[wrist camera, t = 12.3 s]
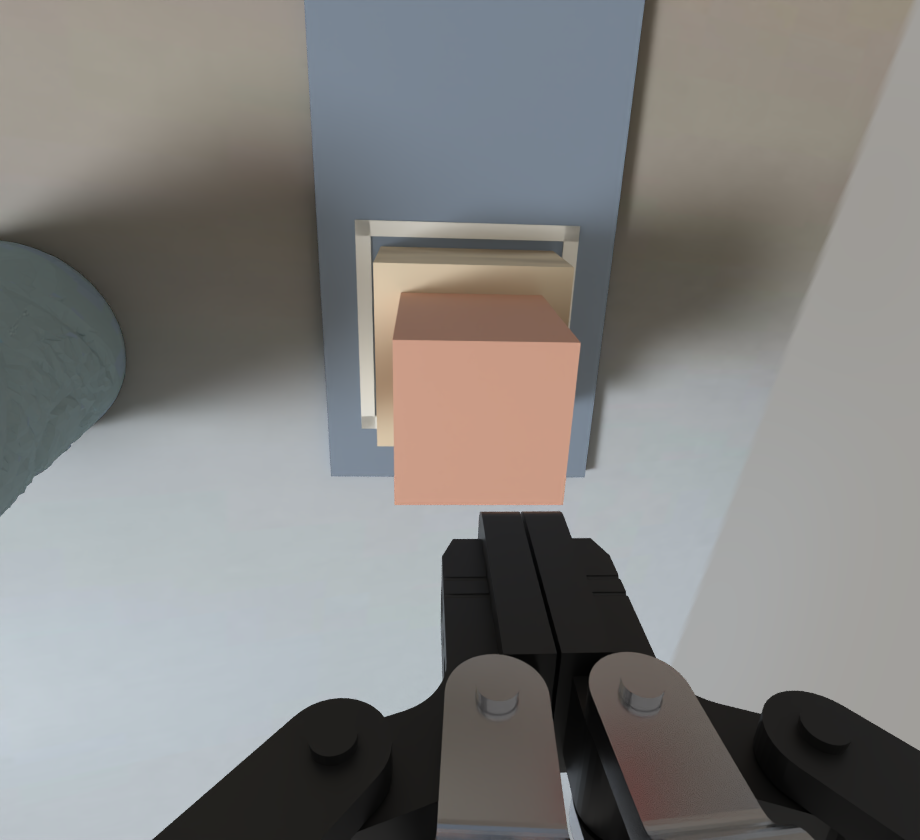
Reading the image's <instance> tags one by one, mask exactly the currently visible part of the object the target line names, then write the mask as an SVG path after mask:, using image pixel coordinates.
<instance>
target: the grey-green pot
mask: <svg viewBox="0 0 920 840" xmlns="http://www.w3.org/2000/svg"><path fill="white" fill-rule="evenodd" d="M125 367H126V355H125V346H124V339H123V336H122V332H121V329H120V326H119V324H118V322H117V320H116V318H115V315H114V314H113V312H112V310H111V308H110V307H109V305H108V304H107V302H106V301H105V299H104V298H103V297H102V296H101V294H100V293H99V292H98V291H97V290H96V288H95V287H94V286H93V285H92V284H91V283H90V282H89V281H88V280H87V279H86V278H85V277H83V276H82V275H81V274H80V273H79V272H77V271H76V270H75V269H73V268H72V267H70V266H69V265H67V264H66V263H65V262H63V261H61V260H60V259H58V258H57V257H54V256H52V255H49V254H47V253H45V252H42V251H40V250H38V249H35V248H31V247H28V246H25V245H22V244H18V243H15V242H7V241H0V516H1V515H2V514H3V513H4V512H5V511H6V510H7V509H8V508H10V506H11V505H12V504H13V503H14V502H15V501H16V499H17V497H18V496H19V495H20V494H22V493H24V492H25V489H26V486H28V485H29V484H30V483H32V479H33V477H34V476H36V475H38V474H40V473H41V472H43V471H44V470H46V469H47V468H48V467H49V466H51V464H52V463H53V461H54V460H56V459H57V458H58V457H59V456H60V455H61V454H62V453H63V452H65V451H66V450H68V449H69V448H70V447H71V443H73V442H75V441H76V440H77V439H79V438H80V437H81V435H82V434H83V433H84V432H85V431H87V430H88V429H89V428H90V427H91V426H92V425H93V424H94V423H95V422H97V421H98V420H99V419H100V418H101V417H102V416H103V415H104V414H105V413H106V411H107V410H108V409H109V408H110V407H111V405H112V404H113V402H114V401H115V399H116V397H117V395H118V393H119V391H120V388H121V386H122V383H123V379H124V376H125Z"/></svg>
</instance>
